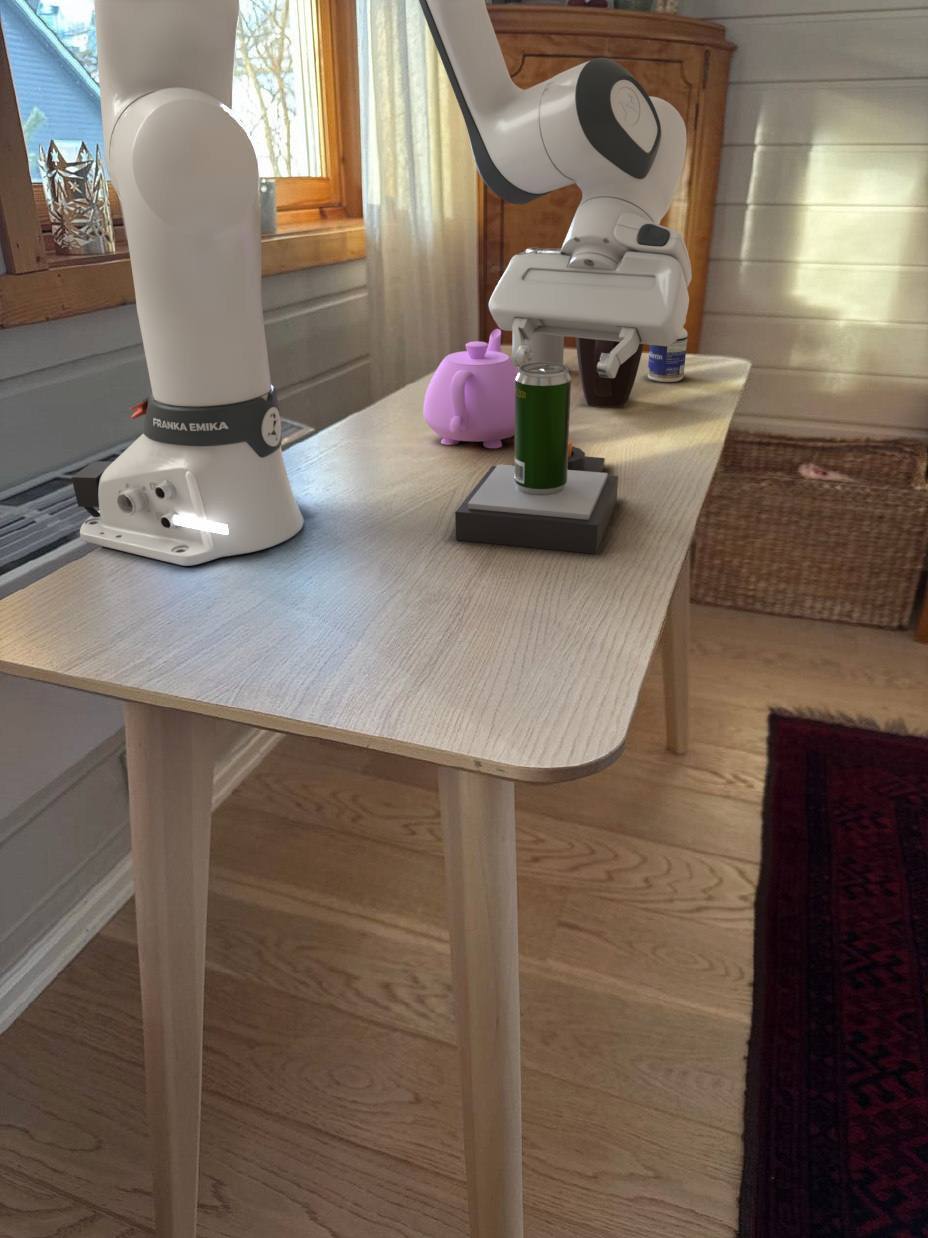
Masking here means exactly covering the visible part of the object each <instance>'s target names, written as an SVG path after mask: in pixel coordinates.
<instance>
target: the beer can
mask: <svg viewBox="0 0 928 1238" xmlns="http://www.w3.org/2000/svg"><path fill="white" fill-rule="evenodd" d="M569 371H570V367H569V366H568V365H566V364H564V363H563V364H559V363H550V362H538V363H528V364H524V365H521V366H519V367H518V374H517V376H516V378H515V435H514V442H513V443H514V449H513V451H514V453H513V457H514V458H513V460H514V462H513V465H514V481H515V483H516V485H517V488H518V490H520V491H521V492H524V493H527V494H532V495H551V494H555V493H558V492H560V491H562V490H563V489H564V486H565V484H566V482H567V472H568V446H569V439H570V419H571V394H572V393H571V391H572V377H571V374H570V372H569Z"/></svg>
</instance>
